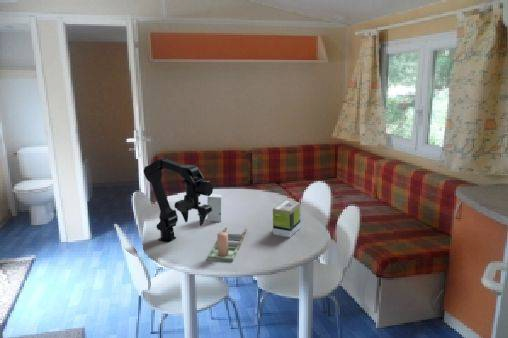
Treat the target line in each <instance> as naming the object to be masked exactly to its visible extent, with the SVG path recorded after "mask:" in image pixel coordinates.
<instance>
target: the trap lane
mask: <svg viewBox="0 0 508 338" xmlns="http://www.w3.org/2000/svg"><path fill="white" fill-rule="evenodd" d="M227 230H228V228H227V227H224V229H223V231H222V232H226V233H227ZM247 231H248V229H247V228H244V230H243V232H242V234H240V233H239V234H237V233H228V255H227V256H225V257H221V256H219V255H218V240H216V243H214V246H213V247H212V249H211V251H210V252H209V254H208V256H207V260H208V261H219V262H232V263H233V262H234V260H235V258H236V255H237V254H238V251H239V250H240V248H241V246H242V242H243V240H244V238H245V236H246V234H247V233H248V232H247ZM230 241H231V242H230ZM234 241H235V242H234Z"/></svg>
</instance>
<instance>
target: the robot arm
mask: <svg viewBox="0 0 508 338" xmlns="http://www.w3.org/2000/svg"><path fill="white" fill-rule="evenodd" d="M164 169H165V170H169V171H171V172H174V173H177V174H179V176H180V177H181V178H183V179H182V181H181V183H182V184H185V195H184V197H183V199H179V200H177V201H175V202H174V209H173V208H171V206H170V204H169V203H170V202H169V201H168V200H169V199H168V197H167V194H166V191H165V188H164V185H163V182H162V179H163V170H164ZM143 175H144V177H145V179H146V180H147V181H148V182H149V183H151V184H150V185H151V186H152V189H153V192H154V195H155V198H156V201H157V205H158V207H159V211H160V212H159V222H158V223H157V224H156V225H155V226H156V227H155V228H157V230H158V231H159V232H160V237H159V238H158V241H161V242H165V243H169V242H171V241H173V240H175V239H177V237H176V236H175V231H174V227H176V226H177V223H178V221H179V215H178V213H177V211H179V212H180V214H181V215H182V217H183V220H184V222H185V223H188V219H189V211H191V210H197V216H198V217H199V226H200V227H201V226H203V224H204V222H205V220H206V217H207V214H208V213H210V212H211V211H212V207H211V206H210V205H207V204H202V205H201V201H200V199H199V197H200V196H206V197H208V196H210V195H211V194H213V192H214V187H213V185H212V184H211V181H210V180H205V177H204V175H203V174H202V172H201V171H200V169H199V167H198V165H193V164H183V163H179V162H177V161H174V160H171V159H168V158H166V157H159V158H158V159H156V160H155V161H153V162H152V163H150V164H149V165H146V166H145V167H144V169H143ZM176 210H177V211H176Z"/></svg>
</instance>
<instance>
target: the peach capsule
mask: <svg viewBox="0 0 508 338" xmlns="http://www.w3.org/2000/svg"><path fill="white" fill-rule="evenodd" d="M228 234H229V233H228V232H227V231H226V232H223V231H221V232H218V233H217V241H218V255H219V256H221V257H225V256H227V255H228V242H229V240H228Z"/></svg>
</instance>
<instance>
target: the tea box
mask: <svg viewBox="0 0 508 338" xmlns="http://www.w3.org/2000/svg"><path fill="white" fill-rule="evenodd" d="M301 213H302V212H301V202H299V201H298V202H297V201H292V200H286V199H285V200H283V201H281V202H280V203H279V204H278V205H276V206H275V207H273V208H272V234H273V235H275V236H279V237H280V236H281V237H284V238H291V237H292V236H293V235H294V234H295V233H297V231H298V230H299V229H300V228H301V224H302V221H301V220H302V219H301V215H302V214H301Z"/></svg>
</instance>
